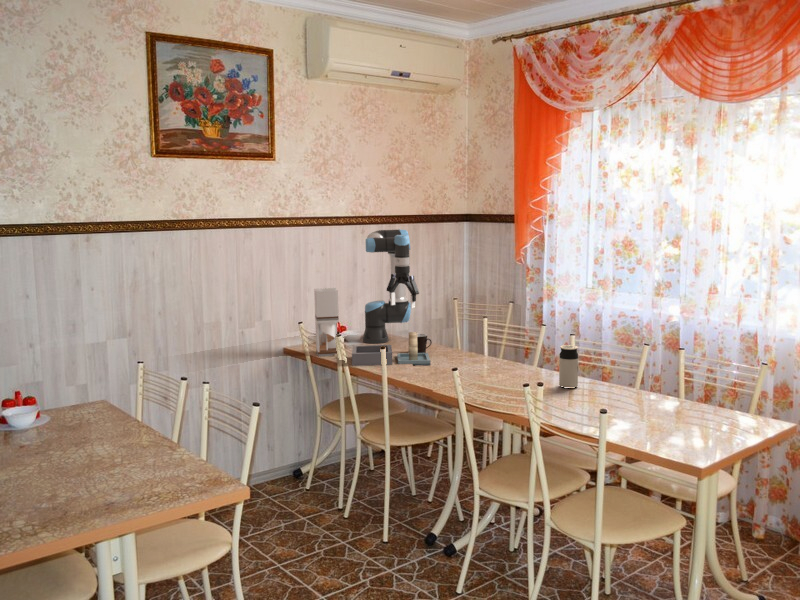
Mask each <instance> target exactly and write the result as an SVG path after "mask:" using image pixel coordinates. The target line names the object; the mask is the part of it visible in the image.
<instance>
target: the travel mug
mask: <svg viewBox="0 0 800 600" xmlns="http://www.w3.org/2000/svg"><path fill="white" fill-rule="evenodd" d="M578 348H579V347H578V346H576V345H572V344H571V345H570V344H568V345H567V344H566V345H565V344H564V345H560V353H559V364H558V365H559V369H558V370H559V371H558V373H559V374H558V375H559V376H558V380H559V382H558V386H559V385H560V386H563V387H577V386H578V387H579V382H578V381H579V353H578ZM560 386H559V387H560ZM578 387H577V388H578Z"/></svg>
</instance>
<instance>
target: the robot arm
mask: <svg viewBox="0 0 800 600" xmlns="http://www.w3.org/2000/svg"><path fill="white" fill-rule="evenodd" d="M410 250H411V240H410V236H409V232H408V230H407V229H399V228H398V229H380V230H375V231H373V232H370V233H369V234H368V235H367V236H366V238H365V251H366V253H373V254H374V253H387V254H388V255H389V257H390V259H389V260H390V278H389V282H388V284H387V287H386V292H388V293H389V299H388V302H386V301H385V300H374V301H370V302H367V303H366V304H365V305H364V317H365V318H364V321H365V322H364V327H365V328H364V332H363V335H362V342H363V343H366V344H384V343H387V342H389V335H388V332H387V329H386V324H399V323H400V324H402V323H408V322H409V321H410V320H411V318H410V317H411V313H412V309H414V308H416V302H417V295H420V291H419V289H418V286H417V284H416V280H415V276H414V275H410V269H411V268H410ZM406 289H407V290H408V291H409V293H410V301H409V298H407V296H406V293H407V290H406Z"/></svg>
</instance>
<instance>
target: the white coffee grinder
mask: <svg viewBox="0 0 800 600" xmlns="http://www.w3.org/2000/svg"><path fill="white" fill-rule="evenodd" d="M336 289H337V288H336V287H330V288H329V287H328V288H327V287H326V288H325V287H324V288H314V289H313V291H314V319H315V320H314V323H315V349H316V350H315V351H316V356H317V357H331V356H332V357H333V356H335V355H337V351H336V344H335V336H336V334H337V335H338V329H337V328H338V327H337V325H338V323H339V290H338V289H337V290H336Z"/></svg>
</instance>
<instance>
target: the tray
mask: <svg viewBox="0 0 800 600" xmlns="http://www.w3.org/2000/svg"><path fill="white" fill-rule="evenodd" d="M396 355H397V356H396V359H397V364H398V365H412V366H413V367H414V366H415V365H423V366H431V359H430V356H429V353H428V352H426V353H418V360H409V352H408V353H406V352H405V353H397V354H396ZM415 367H416V366H415Z"/></svg>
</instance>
